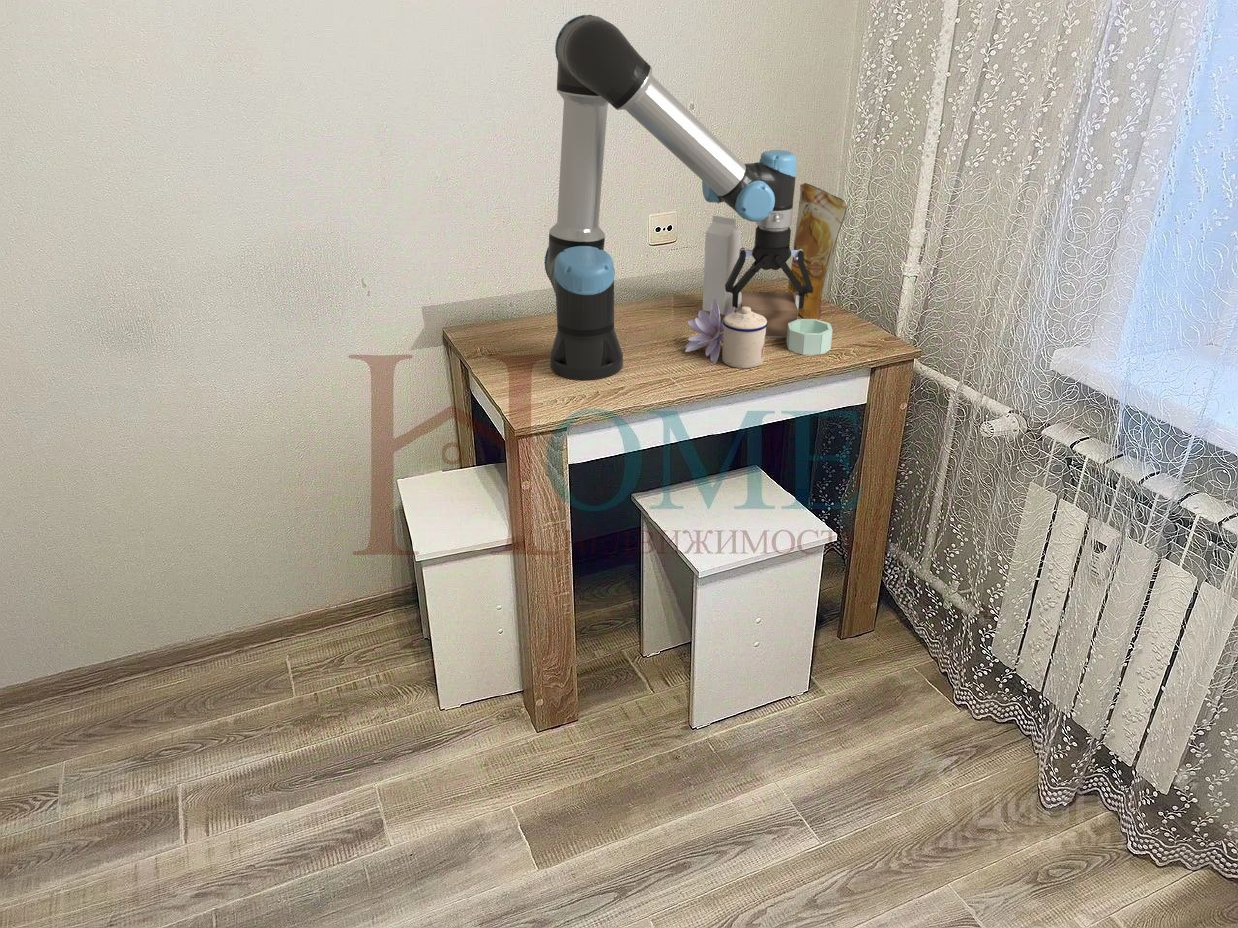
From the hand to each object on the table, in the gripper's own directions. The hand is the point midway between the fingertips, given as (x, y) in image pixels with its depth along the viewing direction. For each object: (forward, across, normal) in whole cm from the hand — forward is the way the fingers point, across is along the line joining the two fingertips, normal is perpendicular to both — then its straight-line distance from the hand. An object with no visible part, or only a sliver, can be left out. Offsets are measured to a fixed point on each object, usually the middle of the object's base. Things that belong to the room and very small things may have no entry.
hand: (766, 321), depth 211 cm
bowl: (+1, +8, -12) cm, 14 cm away
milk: (+2, -10, +11) cm, 15 cm away
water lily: (+2, -14, -15) cm, 21 cm away
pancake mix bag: (+2, +10, +11) cm, 15 cm away
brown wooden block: (+1, 0, 0) cm, 1 cm away
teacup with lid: (+2, -7, -18) cm, 19 cm away
